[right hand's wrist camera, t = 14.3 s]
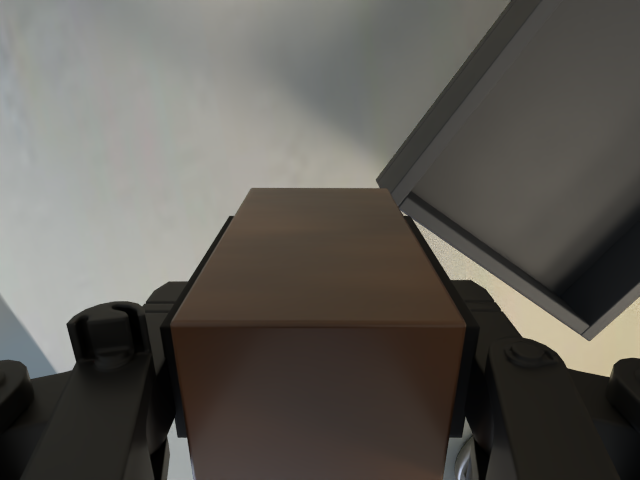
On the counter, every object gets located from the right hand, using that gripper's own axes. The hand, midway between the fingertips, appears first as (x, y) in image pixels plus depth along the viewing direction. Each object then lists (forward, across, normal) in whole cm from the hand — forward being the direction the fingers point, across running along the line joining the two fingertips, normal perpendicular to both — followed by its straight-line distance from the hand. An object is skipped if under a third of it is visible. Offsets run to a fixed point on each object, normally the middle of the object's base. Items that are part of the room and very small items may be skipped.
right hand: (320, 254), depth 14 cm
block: (0, 0, 0) cm, 0 cm away
